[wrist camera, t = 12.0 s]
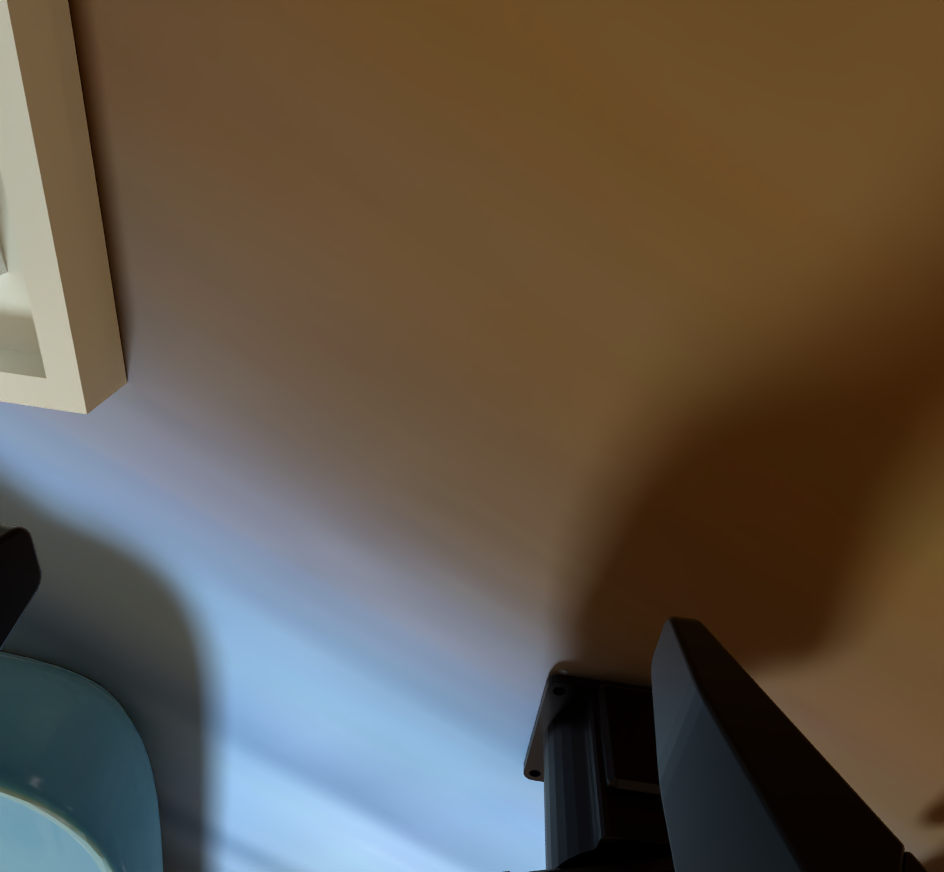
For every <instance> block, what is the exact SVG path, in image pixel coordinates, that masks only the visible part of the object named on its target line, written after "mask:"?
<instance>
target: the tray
mask: <svg viewBox="0 0 944 872" xmlns="http://www.w3.org/2000/svg"><path fill="white" fill-rule="evenodd" d="M0 240H1V245H2V249H3V253H4V258H5V262H6V266H7V270H8V272H7V273H5V274H2V275H0V401H2V402H9V403H15V404H22V405H29V406H35V407H42V408H49V409H56V410H62V411H69V412H76V413H82V414H88V413H89V412H90V411H92V410H93V409H94V408H95V407H97V406H98V405H99V404H101V403H102V402H103V401H104V400H106V399H107V398H108V397H109V396H111V395H112V394H113V393H114V392H116V391H117V390H118V389H120V388H121V387H122V386H123V385H125V384H126V383H127V379H126V373H125V366H124V360H123V353H122V347H121V340H120V334H119V327H118V321H117V315H116V308H115V302H114V295H113V289H112V282H111V276H110V269H109V263H108V256H107V250H106V243H105V237H104V230H103V224H102V217H101V211H100V204H99V198H98V192H97V185H96V179H95V172H94V166H93V159H92V153H91V146H90V140H89V133H88V127H87V120H86V114H85V107H84V101H83V94H82V88H81V81H80V75H79V69H78V62H77V56H76V49H75V43H74V36H73V30H72V23H71V17H70V10H69V4H68V0H0Z"/></svg>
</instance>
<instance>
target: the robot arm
mask: <svg viewBox="0 0 944 872" xmlns="http://www.w3.org/2000/svg"><path fill="white" fill-rule="evenodd" d="M40 581H41V569H40V565H39V561H38V558H37V554H36V551H35V547H34V544H33V540H32V537H31V534H30V533H29V532H28V531H27V529H25V528H23V527H18V526H11V525H4V524H0V650H1V648H2V647H3V645H4V643H5V642H6V640H7V638H8V637H9V635H10V634H11V632H12V630H13V629H14V627H15V625H16V624H17V622H18V621H19V619H20V617H21V616H22V614H23V613H24V611H25V609H26V608H27V606H28V604H29V603H30V601H31V600H32V598H33V596H34V595H35V593H36V592H37V590H38V587H39V585H40ZM651 679H652V688H647V687H640V686H634V685H627V684H620V683H614V682H607V681H600V680H594V679H587V678H580V677H573V676H567V675H553V676H551V677H549V678H548V680H547V682H546V685H545V689H544V692H543V696H542V700H541V703H540V707H539V710H538V714H537V718H536V721H535V725H534V728H533V732H532V736H531V739H530V743H529V746H528V750H527V754H526V757H525V761H524V775H525V777H526V778H528V779H530V780H535V781H542V782H544V807H545V851H546V870H539V871H531V872H928V871H927V870H926V869H925V867H924V866H923V865H922V864H921V863H920V862H919V861H918V860H917V859H916V858H915V857H914V855H913V854H912V853H910V852H904V851H905V848H904V845H903V844H902V843H901V841H900V840H899V839H898V838H897V837H896V836H895V835H894V834H893V833H892V832H891V830H890V829H889V828H888V827H887V826H886V825H885V824H884V823H883V822H882V821H881V819H880V818H879V817H878V816H877V815H876V814H875V813H874V812H873V811H872V810H871V808H870V807H869V806H868V805H867V804H866V803H865V802H864V801H863V800H862V799H861V797H860V796H859V795H858V794H857V793H856V792H855V791H854V790H853V789H852V788H851V787H850V785H849V784H848V783H847V782H846V781H845V780H844V779H843V778H842V777H841V776H840V774H839V773H838V772H837V771H836V770H835V769H834V768H833V767H832V766H831V765H830V763H829V762H828V761H827V760H826V759H825V758H824V757H823V756H822V755H821V754H820V752H819V751H818V750H817V749H816V748H815V747H814V746H813V745H812V744H811V743H810V741H809V740H808V739H807V738H806V737H805V736H804V735H803V734H802V733H801V732H800V730H799V729H798V728H797V727H796V726H795V725H794V724H793V723H792V722H791V721H790V719H789V718H788V717H787V716H786V715H785V714H784V713H783V712H782V711H781V710H780V708H779V707H778V706H777V705H776V704H775V703H774V702H773V701H772V700H771V699H770V697H769V696H768V695H767V694H766V693H765V692H764V691H763V690H762V689H761V688H760V686H759V685H758V684H757V683H756V682H755V681H754V680H753V679H752V678H751V677H750V676H749V674H748V673H747V672H746V671H745V670H744V669H743V668H742V667H741V666H740V665H739V663H738V662H737V661H736V660H735V659H734V658H733V657H732V656H731V655H730V654H729V652H728V651H727V650H726V649H725V648H724V647H723V646H722V645H721V644H720V643H719V641H718V640H717V639H716V638H715V637H714V636H713V635H712V634H711V633H710V632H709V630H708V629H707V628H706V627H705V626H704V625H703V624H702V623H701V622H700V621H698V620H695V619H690V618H683V617H675V616H672V617H669V618H668V619H667V620H666V621H665V623H664V626H663V629H662V632H661V635H660V638H659V641H658V644H657V647H656V650H655V652H654V655H653V659H652V666H651ZM505 872H510V871H505Z"/></svg>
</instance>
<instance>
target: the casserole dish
mask: <svg viewBox="0 0 944 872" xmlns="http://www.w3.org/2000/svg"><path fill="white" fill-rule="evenodd" d="M0 872H163V857H162V840H161V828H160V818H159V808H158V800H157V794H156V788H155V783H154V777H153V772H152V769H151V765H150V761H149V757H148V754H147V752H146V749H145V746H144V744H143V741H142V739H141V737H140V736H139V734H138V732H137V730H136V728H135V727H134V725H133V723H132V721H131V720H130V718H129V717H128V716H127V714H126V712H125V711H124V709H123V708H122V706H121V705H120V704H119V703H118V701H117V700H116V699H115V698H114V697H113V696H112V695H111V694H110V693H109V692H108V691H107V690H106V689H104V688H103V687H102V686H100V685H98V684H97V683H95V682H93V681H92V680H90V679H88V678H86V677H84V676H82V675H80V674H77V673H74V672H72V671H69V670H67V669H64V668H61V667H58V666H55V665H52V664H48V663H45V662H41V661H38V660H35V659H31V658H27V657H22V656H18V655H13V654H9V653H4V652H0Z"/></svg>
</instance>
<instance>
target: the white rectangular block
mask: <svg viewBox="0 0 944 872" xmlns="http://www.w3.org/2000/svg"><path fill="white" fill-rule="evenodd" d="M7 272H8V270H7V266H6V262H5V258H4V253H3V249H2V245H1V240H0V275H2V274H5V273H7Z"/></svg>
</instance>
